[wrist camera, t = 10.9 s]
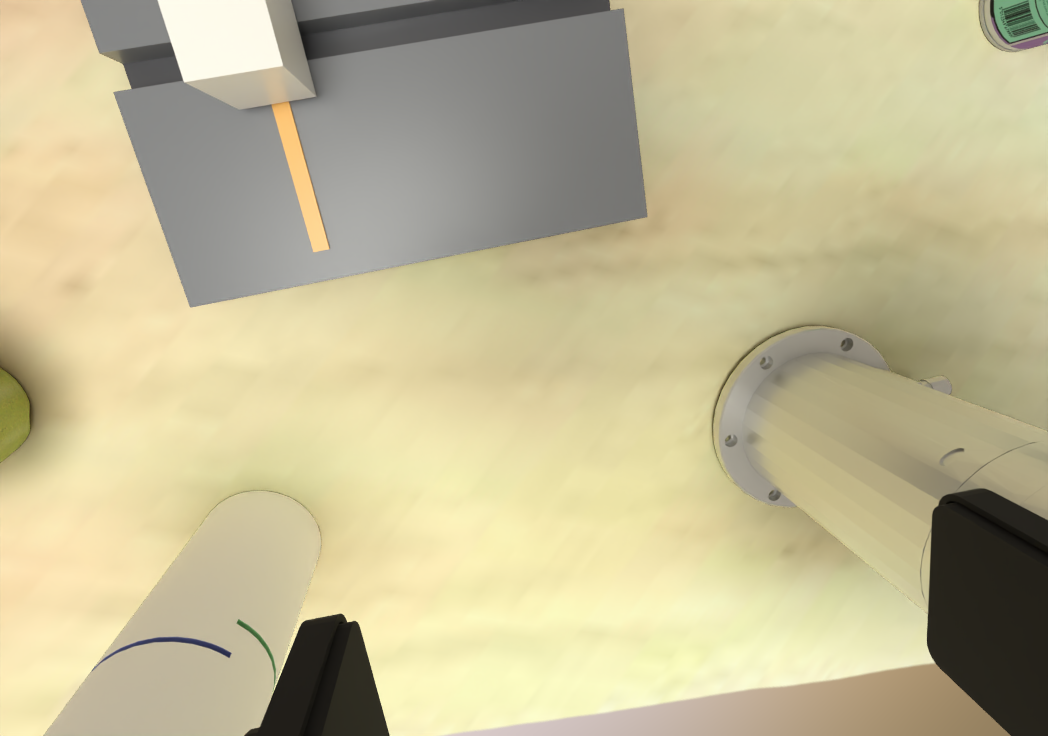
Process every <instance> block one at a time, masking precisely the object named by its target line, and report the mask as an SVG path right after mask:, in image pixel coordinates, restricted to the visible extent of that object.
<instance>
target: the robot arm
mask: <svg viewBox="0 0 1048 736" xmlns="http://www.w3.org/2000/svg"><path fill="white" fill-rule="evenodd" d="M760 361H761V362H760ZM951 391H952V386H951V383H950V381H949V380H948V379H947V378H946V377H944V376H935V377H931V378H927V379H923V380H920V381H919V382H918V381H915V380H913V379H910V378H907V377H904V376H902V375H899V374H896V373H893V372H890V369H889V366H888V364H887V363H886V361H885V360H884V358H883V357H882V355H881V354H880V352H879V351H878V350H876V349H875V348H874V347H873V346H872V345H871V344H870V343H869V342H868V341H866V340H864V339H863V338H861V337H859V336H857V335H856V334H853V333H850V332H847V331H844V330H841V329H837V328H832V327H827V326H805V327H800V328H796V329H791V330H788V331H785V332H783V333H781V334H778V335H776V336H774V337H772V338H770V339H768V340H767V341H765V342H764V343H762V344H761V345H759V346H758V347H756V348H755V349H754V350H753V351H752V352H751V353H749V354H748V355H747V356H746V357H745V358H744V359H743V360H742V361H741V362H740V364H739V365H738V366H737V367H736V369H735V370H734V371H733V372H732V374H731V375H730V377H729V379H728V380H727V382H726V384H725V386H724V388H723V390H722V391H721V394H720V397H719V400H718V403H717V406H716V409H715V416H714V422H713V438H714V446H715V450H716V454H717V458H718V460H719V462H720V464H721V466H722V468H723V470H724V472H725V473H726V474H727V475H728V476H729V478H730V479H731V480H732V481H733V482H734V483H735V484H736V485H737V486H738V487H739V488H740V489H741V490H743V491H744V492H745V493H746V494H748V495H749V496H751V497H753V498H754V499H756V500H758V501H760V502H763V503H765V504H768V505H772V506H779V507H787V508H789V507H799V508H800V509H801V510H803V511H804V512H805V513H806V514H807V515H809V516H810V517H811V518H812V519H813V520H815V521H816V522H817V523H818V524H820V525H821V526H822V527H823V528H824V529H826V530H827V531H828V532H829V533H830V534H832V535H833V536H834V537H835V538H836V539H838V540H839V541H840V542H841V543H842V544H844V545H845V546H846V547H847V548H849V549H850V550H851V551H852V552H853V553H855V554H856V555H857V556H858V557H859V558H861V559H862V560H863V561H864V562H865V563H867V564H868V565H869V566H870V567H871V568H873V569H874V570H875V571H876V572H878V573H879V574H880V575H881V576H882V577H884V578H885V579H886V580H887V581H888V582H890V583H891V584H892V585H893V586H894V587H896V588H897V589H898V590H899V591H900V592H902V593H903V594H904V595H905V596H907V597H908V598H909V599H910V600H911V601H913V602H914V603H915V604H916V605H917V606H919V607H920V608H921V609H922V610H923V611H925V612H926V613H927V614H928V626H927V646H928V649H929V652H930V654H931V656H932V658H933V660H934V661H935V663H936V664H937V665H938V666H939V667H940V669H941V670H942V671H943V672H944V673H946V674H947V675H948V676H949V677H950V678H951V679H952V680H953V681H954V682H955V683H956V684H957V685H958V686H959V687H960V688H961V689H962V690H964V691H965V692H966V693H967V694H968V695H969V696H970V697H971V698H972V699H973V700H974V701H975V702H976V703H977V704H978V705H979V706H980V707H981V708H983V710H985V711H986V712H987V713H988V714H989V715H990V716H991V717H992V718H993V719H994V720H995V721H996V722H997V723H998V724H999V725H1000V726H1001V727H1002V728H1004V729H1005V730H1006V731H1007V732H1008V733H1009V734H1010V735H1011V736H1048V431H1046V430H1044V429H1041V428H1038V427H1035V426H1033V425H1030V424H1027V423H1024V422H1022V421H1019V420H1016V419H1014V418H1011V417H1008V416H1005V415H1003V414H1000V413H997V412H994V411H992V410H989V409H986V408H983V407H981V406H978V405H975V404H972V403H970V402H967V401H964V400H961V399H959V398H956V397H953V396H950V394H951ZM244 736H389V732H388V728H387V725H386V721H385V717H384V714H383V710H382V706H381V703H380V699H379V695H378V692H377V688H376V684H375V681H374V677H373V673H372V670H371V666H370V662H369V659H368V655H367V652H366V648H365V644H364V641H363V637H362V633H361V630H360V627H359V624H358V623H357V622H356V621H353V622H348V623H347V620H346V618H345V617H344V615H343V614H337V615H332V616H326V617H321V618H316V619H311V620H306V621H304V622H303V623H302V624H301V626H300V628H299V631H298V633H297V636H296V638H295V641H294V643H293V646H292V648H291V651H290V653H289V656H288V658H287V661H286V663H285V666H284V668H283V671H282V673H281V676H280V678H279V680H278V683H277V685H276V688H275V690H274V693H273V695H272V698H271V700H270V703H269V705H268V708H267V710H266V713H265V715H264V718H263V720H262V723H261V725H260V727H259V728H254V729H250V730H249V731H248V732H247V733H246V734H245V735H244Z"/></svg>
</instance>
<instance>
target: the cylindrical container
mask: <svg viewBox="0 0 1048 736" xmlns="http://www.w3.org/2000/svg"><path fill="white" fill-rule="evenodd" d="M320 550H321V535H320V531H319V527H318V525H317V523H316V521H315V519H314V517H313V516H312V515H311V514H310V513H309V511H308V510H307V509H306V508H305V507H304V506H302V505H301V504H300V503H299V502H297V501H295V500H294V499H292V498H290V497H288V496H285V495H282V494H279V493H276V492H270V491H249V492H243V493H239V494H236V495H234V496H231V497H229V498H227V499H225V500H224V501H222V502H221V503H219V504H218V505H217V506H216V507H215V508H214V509H213V510H212V511H211V512H210V513H209V514H208V516H207V517H206V518H205V520H204V521H203V522H202V524H201V525H200V526H199V528H198V529H197V531H196V532H195V533H194V535H193V536H192V537H191V539H190V540H189V541H188V543H187V544H186V545H185V547H184V548H183V549H182V551H181V552H180V553H179V555H178V556H177V557H176V559H175V560H174V561H173V563H172V564H171V565H170V567H169V568H168V569H167V571H166V572H165V574H164V575H163V576H162V578H161V579H160V580H159V582H158V583H157V584H156V586H155V587H154V588H153V590H152V591H151V592H150V594H149V595H148V596H147V598H146V599H145V600H144V602H143V603H142V604H141V606H140V607H139V608H138V610H137V611H136V612H135V614H134V615H133V616H132V618H131V619H130V620H129V622H128V623H127V624H126V626H125V627H124V628H123V630H122V631H121V632H120V634H119V635H118V636H117V638H116V639H115V640H114V642H113V643H112V644H111V646H110V647H109V648H108V650H107V651H106V652H105V654H104V655H103V656H102V658H101V659H100V660H99V662H98V663H97V664H96V666H95V667H94V668H93V670H92V671H91V673H90V674H89V675H88V676H87V678H86V679H85V680H84V682H83V683H82V684H81V686H80V687H79V688H78V690H77V691H76V692H75V694H74V695H73V696H72V698H71V699H70V700H69V702H68V703H67V704H66V706H65V707H64V709H63V710H62V711H61V713H60V714H59V715H58V717H57V718H56V719H55V721H54V722H53V723H52V725H51V726H50V727H49V729H48V730H47V731H46V733H45V734H44V735H43V736H244V735H245V734H246V733H247V732H248V731H249V730H250V729H254V728H259V727H260V725H261V723H262V720H263V718H264V715H265V713H266V710H267V708H268V705H269V702H270V699H271V696H272V693H273V690H274V687H275V684H276V681H277V678H278V675H279V673H280V670H281V667H282V664H283V661H284V658H285V655H286V652H287V649H288V646H289V643H290V640H291V637H292V634H293V631H294V628H295V625H296V623H297V620H298V617H299V614H300V611H301V608H302V605H303V602H304V599H305V596H306V593H307V590H308V587H309V584H310V581H311V578H312V575H313V573H314V570H315V567H316V564H317V561H318V558H319V554H320Z"/></svg>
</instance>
